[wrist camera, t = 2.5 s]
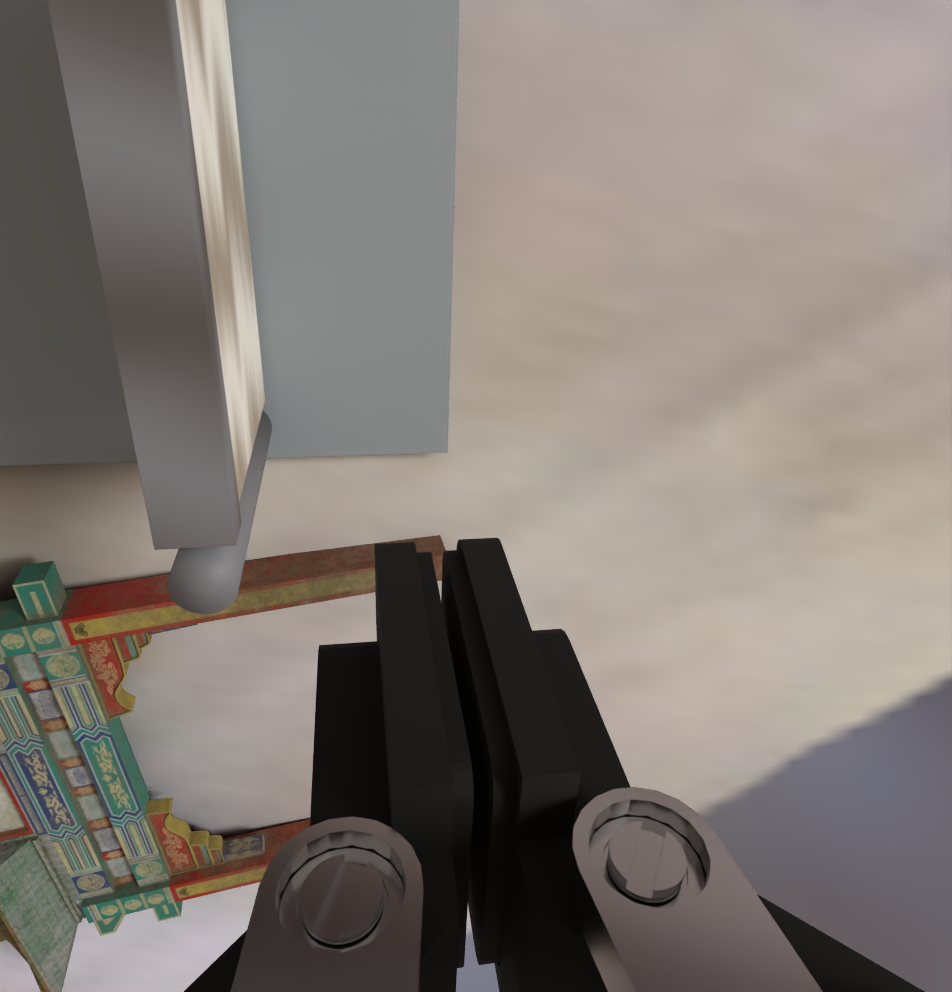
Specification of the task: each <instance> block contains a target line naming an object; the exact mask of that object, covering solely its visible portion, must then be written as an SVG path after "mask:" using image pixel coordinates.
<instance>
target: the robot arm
mask: <svg viewBox="0 0 952 992" xmlns="http://www.w3.org/2000/svg"><path fill="white" fill-rule="evenodd" d="M374 553H375V590H376V626H377V641H376V642H361V643H347V644H332V645H320V646H319V652H318V669H317V691H316V712H315V733H314V754H313V775H312V797H311V818H310V827H308V828H306V829H304V830H303V831H301V832H300V833H299V834H297V835H296V836H294V837H293V838H291V839H290V840H289V841H287V842H286V843H285V844H284V845H283V846H282V848H281V849H280V850H279V851H278V852H277V854H276V855H275V856H274V857H273V858H272V860H271V861H270V862H269V864H268V866H267V869H266V871H265V873H264V876H263V878H262V880H261V882H260V885H259V888H258V892H257V895H256V899H255V903H254V906H253V910H252V914H251V918H250V921H249V925H248V929H247V931H246V932H245V933H244V934H242V935H241V936H240V937H239V938H238V939H237V940H236V941H235V942H234V943H233V944H232V945H231V946H230V947H229V948H228V949H227V950H226V951H225V952H224V953H223V954H222V955H221V956H220V957H219V958H218V959H217V960H216V961H215V962H214V963H213V964H212V965H211V966H210V967H209V968H208V969H207V970H205V971H204V972H203V973H202V974H201V975H200V976H199V977H198V978H197V979H196V980H195V981H194V982H193V983H192V984H191V985H190V986H189V987H188V988H187V989H186V990H185V991H184V992H456V974H457V968H460V967H463V966H464V956H465V939H466V922H467V906H469V913H470V919H471V926H472V932H473V939H474V945H475V951H476V957H477V961H478V963H479V965H483V964H490V963H495V968H496V974H497V980H498V985H499V991H500V992H924V991H923V990H921V989H919V988H917V987H916V986H914V985H912V984H910V983H909V982H907V981H905V980H904V979H902V978H900V977H899V976H897V975H895V974H893V973H892V972H890V971H888V970H886V969H885V968H883V967H881V966H880V965H878V964H876V963H874V962H873V961H871V960H869V959H868V958H866V957H864V956H862V955H861V954H859V953H857V952H856V951H854V950H852V949H850V948H849V947H847V946H845V945H843V944H842V943H840V942H838V941H837V940H835V939H833V938H831V937H830V936H828V935H826V934H825V933H823V932H821V931H819V930H817V929H816V928H814V927H813V926H810V925H809V924H807V923H805V922H804V921H802V920H800V919H799V918H797V917H795V916H794V915H792V914H790V913H788V912H787V911H784V910H783V909H782V908H780V907H778V906H776V905H774V904H773V903H771V902H769V901H768V900H766V899H764V898H763V897H761V896H759V895H757V894H756V893H755V891H754V890H753V888H752V887H751V885H750V884H749V882H748V881H747V879H746V878H745V876H744V875H743V873H742V872H741V870H740V869H739V867H738V866H737V864H736V863H735V862H734V860H733V859H732V857H731V856H730V854H729V853H728V851H727V850H726V848H725V847H724V845H723V844H722V842H721V841H720V840H719V838H718V836H717V835H716V833H715V832H714V831H713V830H712V829H711V827H710V826H709V825H708V824H707V823H706V822H705V821H704V819H703V818H702V817H701V816H700V815H699V814H698V813H697V812H695V811H694V810H693V809H691V808H690V807H688V806H687V805H686V804H684V803H683V802H681V801H680V800H678V799H676V798H673V797H671V796H669V795H666V794H664V793H661V792H659V791H656V790H650V789H644V788H638V787H630V785H629V782H628V780H627V778H626V775H625V773H624V770H623V768H622V766H621V763H620V761H619V758H618V756H617V754H616V751H615V749H614V746H613V744H612V741H611V739H610V737H609V734H608V732H607V729H606V727H605V725H604V722H603V720H602V717H601V715H600V713H599V710H598V708H597V705H596V703H595V701H594V698H593V696H592V693H591V691H590V688H589V686H588V684H587V681H586V679H585V676H584V674H583V672H582V669H581V667H580V664H579V662H578V660H577V657H576V655H575V652H574V650H573V648H572V645H571V643H570V640H569V638H568V637H567V635H566V633H565V632H564V631H563V630H562V629H552V630H538V631H532V629H531V627H530V624H529V621H528V618H527V615H526V612H525V610H524V607H523V604H522V601H521V598H520V595H519V593H518V590H517V587H516V584H515V581H514V578H513V575H512V573H511V570H510V567H509V564H508V561H507V558H506V556H505V553H504V550H503V547H502V544H501V542H500V540H499V538H484V539H463V540H458V543H457V550H453V551H444V552H443V559H442V597H441V600H440V594H439V589H438V584H437V579H436V574H435V568H434V563H433V558H432V553H431V552H417V551H416V545H415V542H399V543H378V544H374Z"/></svg>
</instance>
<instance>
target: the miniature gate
mask: <svg viewBox="0 0 952 992" xmlns="http://www.w3.org/2000/svg"><path fill="white" fill-rule="evenodd" d="M399 542H415V545H416V551H417V552H431V553H432V558H433V563H434V568H435V574H436V579H437V581H441V580H442V559H443V552H444V551H446V550H445V547H444V545H443V542H442V539H441V537H440V535H438V536H430V537H422V538H414V539H406V540H398V541H390V542H382V543H399ZM374 544H378V543H374ZM374 544H366V545H358V546H350V547H343V548H335V549H327V550H319V551H311V552H303V553H295V554H287V555H281V556H275V557H269V558H263V559H257V560H251V561H244V566H243V571H242V576H241V581H240V585H239V590H238V594H237V597H236V599H235V600H234V602H233V603H232V604H231V605H230V606H229V607H228V608H226V609H224V610H222V611H220V612H217V613H213V614H197V613H192V612H189V611H187V610H185V609H183V608H181V607H180V606H178V605H177V604H176V603H175V602H174V601H173V600H172V598H171V597H170V595H169V593H168V589H167V581H168V577H169V575H170V574H165V575H159V576H153V577H147V578H141V579H134V580H128V581H122V582H116V583H110V584H104V585H98V586H92V587H86V588H79V589H73V590H67V591H65V589H64V587H63V584H62V582H61V579H60V576H59V574H58V571H57V569H56V566H55V564H54V561H50V562H43V563H37V564H31V565H24V566H23V567H22V568H21V570H20V572H19V574H18V576H17V578H16V579H15V581H14V583H13V585H12V586H13V589H14V591H15V593H16V595H17V598H18V599H12V600H6V601H0V942H1V941H4V940H8V941H9V942H10V943H11V944H12V945H13V946H14V947H15V949H16V950H17V951H18V952H19V953H20V954H21V956H22V957H23V958H24V959H25V960H26V961H27V962H28V964H29V965H30V967H31V970H32V972H33V974H34V977H35V979H36V981H37V984H38V986H39V988H40V990H41V992H62V988H63V983H64V979H65V975H66V971H67V967H68V963H69V959H70V955H71V951H72V947H73V942H74V938H75V934H76V930H77V926H78V923H80V922H81V921H82V918H87V920H88V922H89V923H92V922H94V924H95V926H96V928H97V930H98V932H99V934H100V936H102V935H106V934H110V933H114V932H116V930H117V928H118V927H119V925H120V923H121V921H122V919H123V918H124V916H125V914H129V913H133V912H137V911H141V910H146V909H150V908H153V910H154V913H155V915H156V917H157V920H158V922H159V921H163V920H167V919H171V918H175V917H179V916H181V909H182V901H183V900H187V899H191V898H195V897H199V896H203V895H208V894H212V893H216V892H220V891H224V890H228V889H232V888H236V887H241V886H245V885H249V884H253V883H257V882H261V880H262V878H263V876H264V873H265V871H266V869H267V866H268V864H269V862H270V861H271V860H272V858H273V857H274V856H275V855H276V854H277V852H278V851H279V850H280V849H281V848H282V846H283V845H284V844H285V843H286V842H287V841H289V840H290V839H291V838H293V837H294V836H296V835H297V834H299V833H300V832H301V831H303V830H304V829H306V828H308V827H310V819H307V820H303V821H298V822H294V823H290V824H285V825H281V826H277V827H272V828H268V829H264V830H259V831H255V832H250V833H246V834H242V835H237V836H233V837H229V838H224V839H222V836H221V835H210V834H209V832H208V831H207V830H203V831H191V829H190V827H189V826H188V824H187V823H186V822H184V821H182V820H180V819H177V818H175V817H173V816H171V808H172V801H173V798H164V799H154V800H151V798H150V795H149V792H148V790H147V787H146V785H145V782H144V780H143V777H142V774H141V772H140V769H139V767H138V764H137V762H136V759H135V756H134V754H133V751H132V749H131V746H130V744H129V741H128V739H127V736H126V733H125V731H124V728H123V726H122V723H121V721H120V718H119V716H121V715H124V714H127V713H130V712H132V711H133V707H134V703H135V698H136V697H135V696H133V695H131V694H129V693H127V692H126V691H125V690H124V689H123V688H122V686H121V684H122V683H123V681H124V679H125V676H126V673H127V669H128V665H129V662H130V661H133V660H135V659H138V658H140V656H141V652H142V648H144V647H146V646H148V645H150V641H151V637H152V634H155V633H160V632H165V631H169V630H174V629H179V628H183V627H188V626H193V625H197V624H198V623H203V622H208V621H214V620H220V619H225V618H231V617H237V616H242V615H248V614H254V613H259V612H265V611H271V610H276V609H282V608H288V607H293V606H299V605H305V604H310V603H316V602H322V601H327V600H333V599H339V598H344V597H350V596H356V595H361V594H367V593H373V592H376V590H375V553H374Z"/></svg>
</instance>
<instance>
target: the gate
mask: <svg viewBox="0 0 952 992" xmlns="http://www.w3.org/2000/svg"><path fill="white" fill-rule="evenodd" d="M47 2H48V8H49V13H50V18H51V23H52V28H53V33H54V38H55V43H56V48H57V54H58V59H59V64H60V69H61V74H62V79H63V84H64V89H65V94H66V100H67V105H68V110H69V115H70V120H71V125H72V130H73V135H74V140H75V146H76V151H77V156H78V161H79V166H80V171H81V176H82V181H83V186H84V192H85V197H86V202H87V207H88V212H89V217H90V222H91V227H92V232H93V238H94V243H95V248H96V253H97V258H98V263H99V268H100V273H101V278H102V284H103V289H104V294H105V299H106V304H107V309H108V314H109V319H110V324H111V330H112V335H113V340H114V345H115V350H116V355H117V360H118V365H119V370H120V376H121V381H122V386H123V391H124V396H125V401H126V406H127V411H128V416H129V422H130V427H131V432H132V437H133V442H134V447H135V452H136V457H137V462H138V468H139V473H140V478H141V483H142V488H143V493H144V498H145V503H146V508H147V514H148V519H149V524H150V529H151V534H152V539H153V544H154V549H155V550H157V549H178V548H199V547H219V546H236V544H237V540H238V536H239V532H240V527H241V523H242V521H241V513H240V505H239V501H240V497H241V493H242V489H243V485H244V481H245V478H246V474H247V470H248V466H249V462H250V458H251V454H252V450H253V446H254V442H255V438H256V434H257V430H258V426H259V422H260V418H261V414H262V410H263V406H264V402H265V394H264V383H263V373H262V363H261V353H260V343H259V333H258V323H257V313H256V303H255V293H254V283H253V273H252V263H251V253H250V243H249V233H248V223H247V213H246V203H245V193H244V183H243V173H242V163H241V153H240V143H239V133H238V123H237V113H236V103H235V93H234V83H233V73H232V63H231V53H230V43H229V33H228V23H227V13H226V3H225V0H47Z"/></svg>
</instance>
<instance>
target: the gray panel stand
mask: <svg viewBox="0 0 952 992" xmlns="http://www.w3.org/2000/svg"><path fill="white" fill-rule="evenodd" d="M225 3H226V13H227V23H228V33H229V43H230V53H231V63H232V73H233V83H234V93H235V103H236V113H237V123H238V133H239V143H240V153H241V163H242V173H243V183H244V193H245V203H246V213H247V223H248V233H249V243H250V253H251V263H252V273H253V283H254V293H255V303H256V313H257V323H258V333H259V343H260V353H261V363H262V373H263V383H264V394H265V402H264V406H263V410H262V414H261V418H260V422H259V426H258V430H257V434H256V438H255V442H254V446H253V450H252V454H251V458H250V462H249V466H248V470H247V474H246V478H245V481H244V485H243V489H242V493H241V497H240V501H239V505H240V513H241V521H242V523H241V527H240V532H239V536H238V540H237V544H236V546H219V547H199V548H179V550H178V552H177V555H176V558H175V561H174V564H173V566H172V569H171V572H170V575H169V577H168V581H167V589H168V593H169V595H170V597H171V598H172V600H173V601H174V602H175V603H176V604H177V605H178V606H180V607H181V608H183V609H185V610H187V611H189V612H192V613H197V614H213V613H217V612H220V611H222V610H224V609H226V608H228V607H229V606H230V605H231V604H232V603H233V602H234V600H235V599H236V597H237V594H238V590H239V585H240V581H241V576H242V571H243V566H244V561H245V557H246V552H247V547H248V542H249V537H250V533H251V528H252V523H253V518H254V514H255V509H256V504H257V499H258V494H259V490H260V485H261V480H262V475H263V470H264V466H265V461H266V458H285V457H319V456H352V455H386V454H419V453H448V417H449V379H450V340H451V302H452V264H453V225H454V187H455V149H456V110H457V72H458V33H459V0H225ZM118 462H137V457H136V452H135V447H134V442H133V437H132V432H131V427H130V422H129V416H128V411H127V406H126V401H125V396H124V391H123V386H122V381H121V376H120V370H119V365H118V360H117V355H116V350H115V345H114V340H113V335H112V330H111V324H110V319H109V314H108V309H107V304H106V299H105V294H104V289H103V284H102V278H101V273H100V268H99V263H98V258H97V253H96V248H95V243H94V238H93V232H92V227H91V222H90V217H89V212H88V207H87V202H86V197H85V192H84V186H83V181H82V176H81V171H80V166H79V161H78V156H77V151H76V146H75V140H74V135H73V130H72V125H71V120H70V115H69V110H68V105H67V100H66V94H65V89H64V84H63V79H62V74H61V69H60V64H59V59H58V54H57V48H56V43H55V38H54V33H53V28H52V23H51V18H50V13H49V8H48V2H47V0H0V466H17V465H51V464H84V463H118Z"/></svg>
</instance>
